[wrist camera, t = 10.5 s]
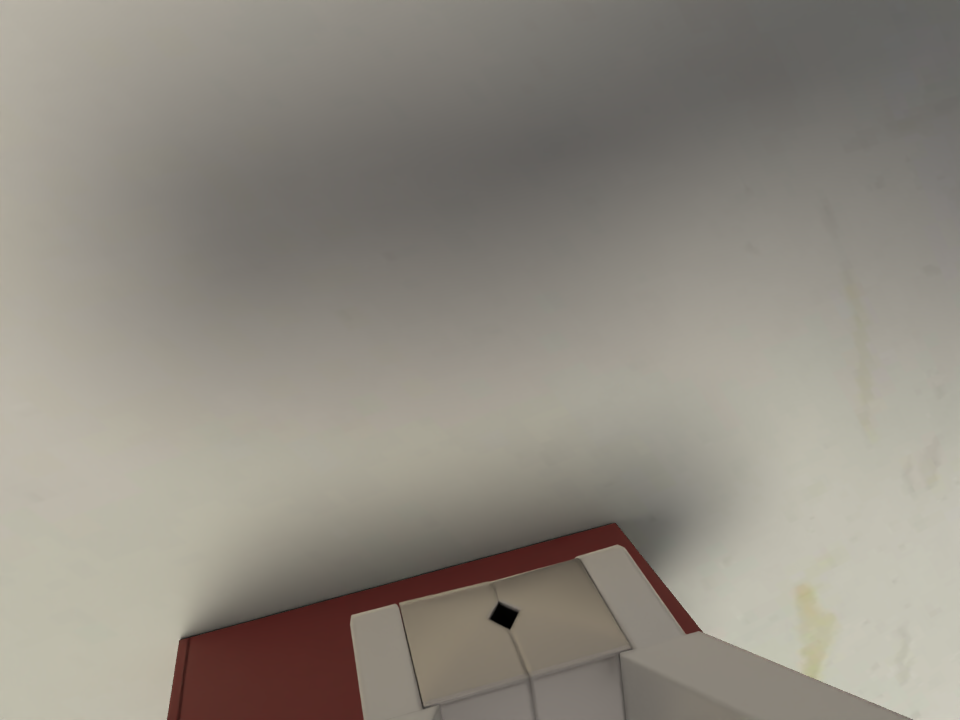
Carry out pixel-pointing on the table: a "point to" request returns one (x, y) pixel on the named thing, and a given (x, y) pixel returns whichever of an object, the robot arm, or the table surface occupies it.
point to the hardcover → (343, 641)
